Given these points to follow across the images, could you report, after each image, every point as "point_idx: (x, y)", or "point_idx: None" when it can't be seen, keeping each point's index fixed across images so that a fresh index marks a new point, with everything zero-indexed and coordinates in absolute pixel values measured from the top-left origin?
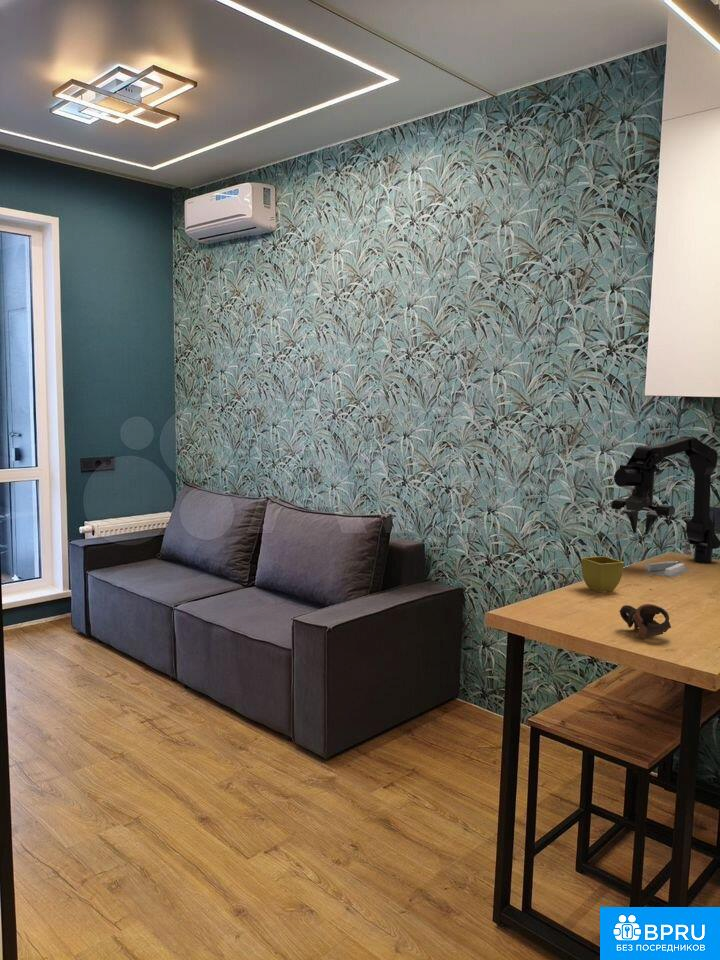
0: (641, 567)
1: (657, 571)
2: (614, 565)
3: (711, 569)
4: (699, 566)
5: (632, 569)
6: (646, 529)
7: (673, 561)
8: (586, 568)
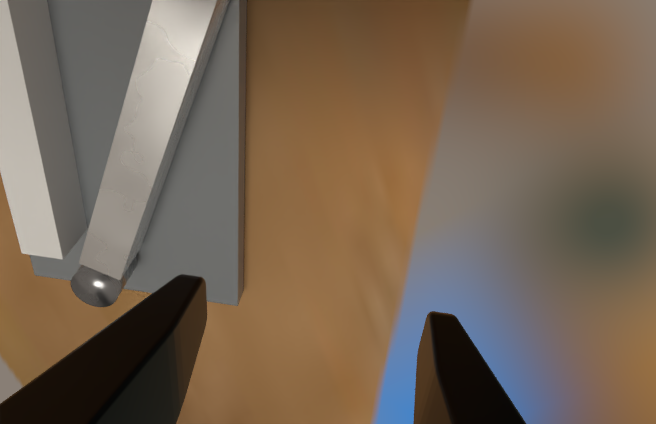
0: (370, 193)
1: None
2: None
3: None
4: None
5: (414, 64)
6: (135, 341)
7: (104, 261)
8: None
